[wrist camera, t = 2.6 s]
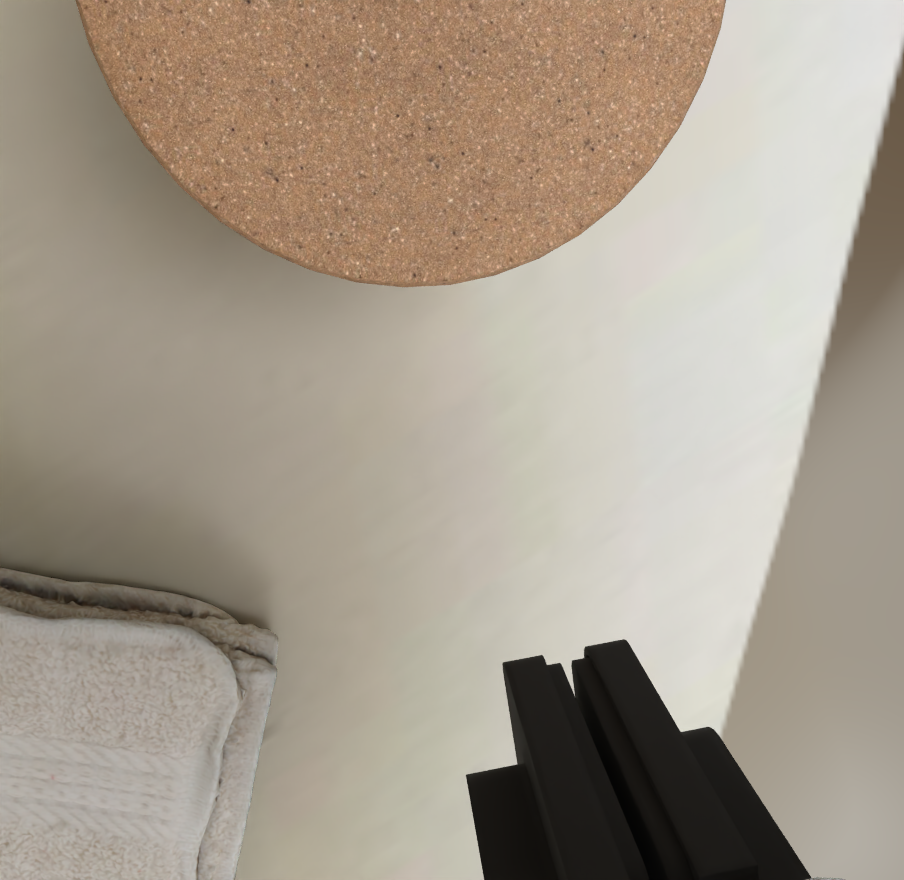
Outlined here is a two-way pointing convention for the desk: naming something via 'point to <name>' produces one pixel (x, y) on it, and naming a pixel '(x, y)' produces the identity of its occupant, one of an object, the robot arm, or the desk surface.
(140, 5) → the trinket box
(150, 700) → the washcloth
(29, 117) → the desk surface
